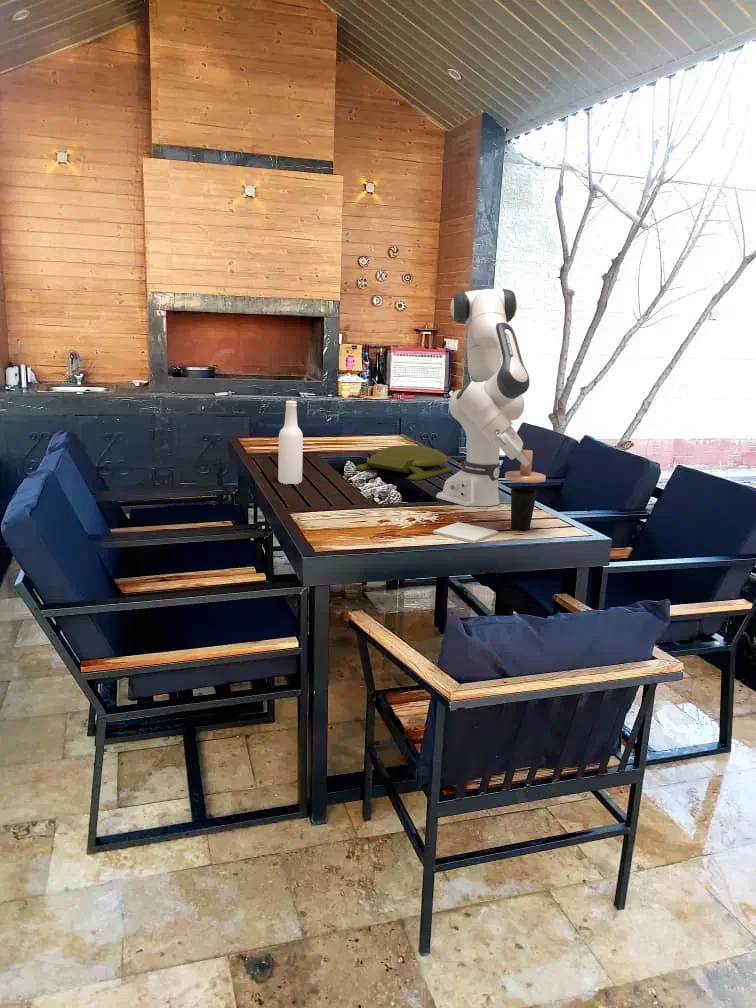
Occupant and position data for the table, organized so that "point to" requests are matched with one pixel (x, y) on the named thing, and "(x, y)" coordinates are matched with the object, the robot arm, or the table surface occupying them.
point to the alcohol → (290, 448)
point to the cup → (522, 508)
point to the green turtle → (408, 461)
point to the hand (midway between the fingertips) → (528, 463)
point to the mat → (465, 532)
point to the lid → (525, 472)
